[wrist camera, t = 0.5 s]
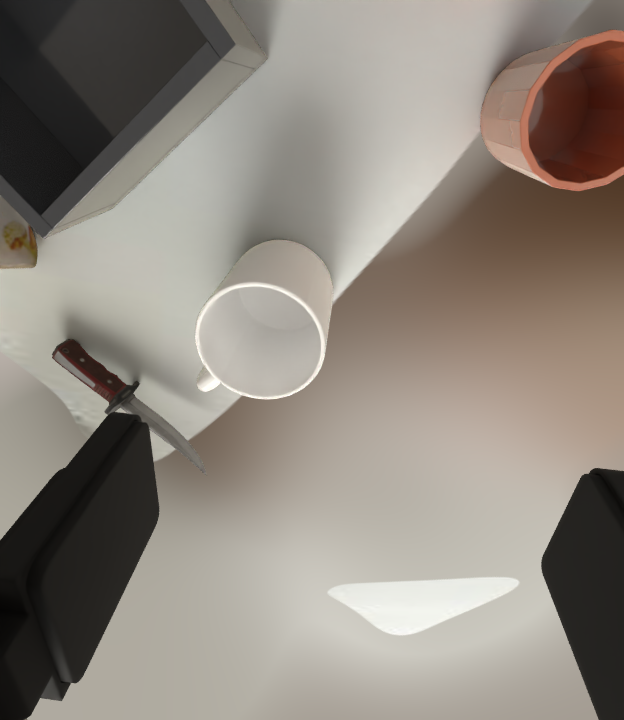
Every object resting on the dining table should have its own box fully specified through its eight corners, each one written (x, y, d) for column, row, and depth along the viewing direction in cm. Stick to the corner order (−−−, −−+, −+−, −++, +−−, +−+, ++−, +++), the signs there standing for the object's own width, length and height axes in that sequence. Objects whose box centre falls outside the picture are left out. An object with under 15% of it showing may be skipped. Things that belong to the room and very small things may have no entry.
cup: (355, 291, 37) (353, 350, 29) (256, 374, 42) (228, 447, 33) (282, 214, 35) (255, 252, 26) (185, 312, 40) (135, 372, 31)
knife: (224, 436, 46) (210, 471, 42) (217, 444, 47) (202, 479, 42) (70, 334, 42) (36, 361, 38) (64, 344, 42) (30, 372, 38)
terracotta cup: (563, 22, 28) (642, -9, 20) (607, 123, 30) (693, 131, 22) (461, 100, 30) (496, 101, 22) (508, 188, 33) (555, 216, 25)
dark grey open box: (105, -182, 25) (-8, -307, 18) (268, 58, 30) (236, 44, 22) (-44, 36, 31) (-180, 14, 23) (112, 208, 36) (43, 239, 28)
